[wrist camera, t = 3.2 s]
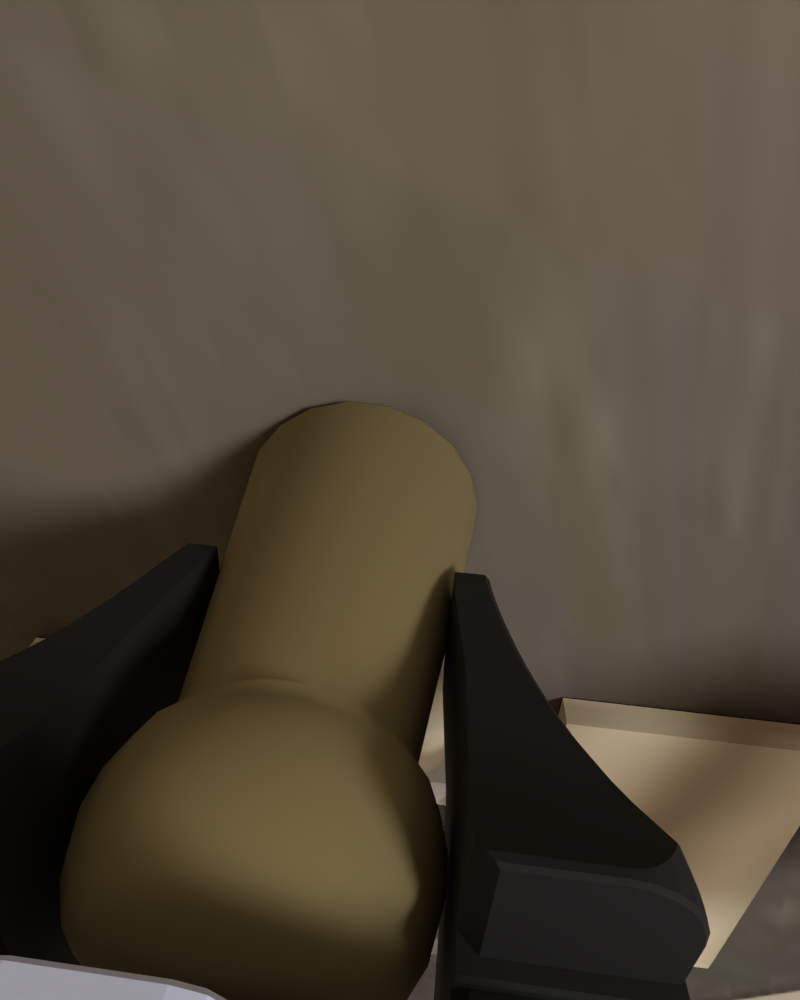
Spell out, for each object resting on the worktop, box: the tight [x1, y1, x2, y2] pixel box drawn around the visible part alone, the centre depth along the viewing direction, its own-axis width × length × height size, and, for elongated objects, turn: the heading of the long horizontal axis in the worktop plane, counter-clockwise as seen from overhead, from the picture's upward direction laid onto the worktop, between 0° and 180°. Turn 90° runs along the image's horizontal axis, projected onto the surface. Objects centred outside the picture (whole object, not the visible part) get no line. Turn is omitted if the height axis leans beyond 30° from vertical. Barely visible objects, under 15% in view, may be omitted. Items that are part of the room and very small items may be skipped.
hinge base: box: [28, 638, 800, 968], centre depth 23 cm, size 25×14×2 cm, turn 87°
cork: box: [59, 402, 478, 1000], centre depth 12 cm, size 6×6×11 cm
